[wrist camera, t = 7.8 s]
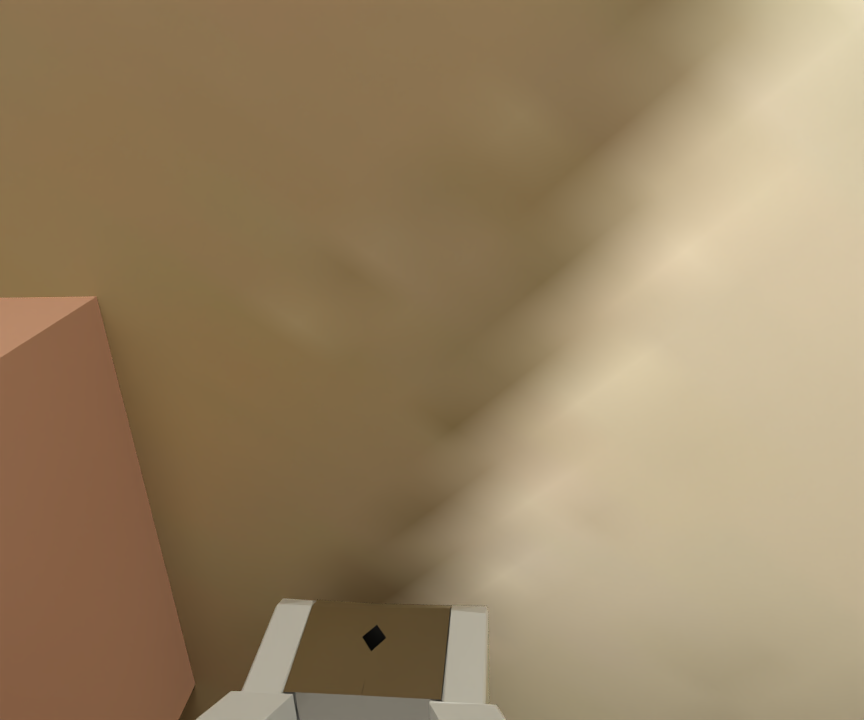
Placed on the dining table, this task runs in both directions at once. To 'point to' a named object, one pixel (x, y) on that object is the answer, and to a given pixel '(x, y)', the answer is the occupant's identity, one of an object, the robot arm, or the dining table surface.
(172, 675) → the terracotta block
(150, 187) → the dining table surface
